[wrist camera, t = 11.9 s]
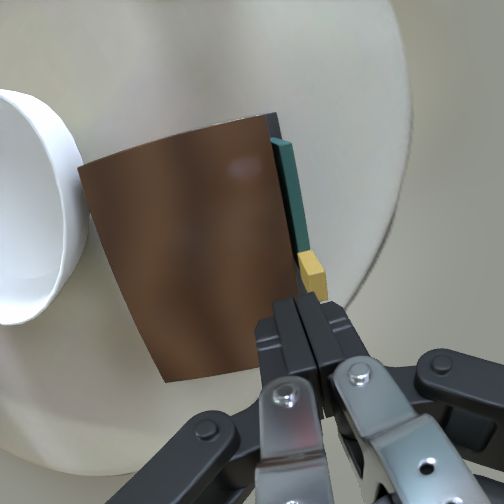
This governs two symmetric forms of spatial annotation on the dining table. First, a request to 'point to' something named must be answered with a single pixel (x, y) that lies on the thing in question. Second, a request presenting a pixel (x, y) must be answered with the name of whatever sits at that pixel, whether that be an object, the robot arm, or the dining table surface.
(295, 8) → the dining table surface
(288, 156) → the door
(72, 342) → the dining table surface
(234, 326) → the cabinet
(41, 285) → the bowl
